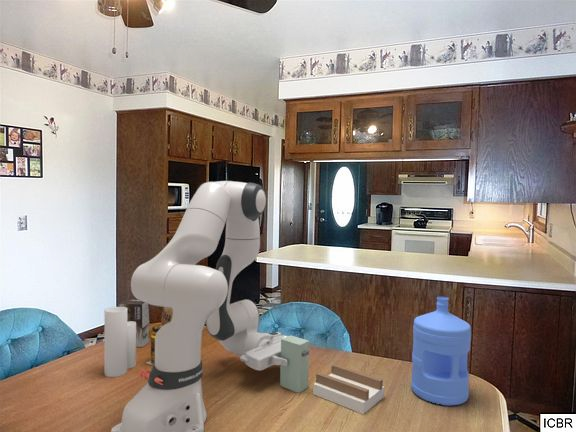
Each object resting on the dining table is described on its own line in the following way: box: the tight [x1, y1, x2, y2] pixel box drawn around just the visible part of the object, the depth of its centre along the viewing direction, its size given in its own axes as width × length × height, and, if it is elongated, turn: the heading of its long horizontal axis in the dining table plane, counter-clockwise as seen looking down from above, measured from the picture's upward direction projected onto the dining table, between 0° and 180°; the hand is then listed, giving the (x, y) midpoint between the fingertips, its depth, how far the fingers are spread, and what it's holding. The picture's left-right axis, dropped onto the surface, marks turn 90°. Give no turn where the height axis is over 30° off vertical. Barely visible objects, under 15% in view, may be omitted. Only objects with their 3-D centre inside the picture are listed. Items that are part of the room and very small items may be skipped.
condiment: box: [146, 323, 164, 366], centre depth 135 cm, size 7×8×12 cm
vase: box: [103, 306, 137, 378], centre depth 128 cm, size 11×7×20 cm, turn 174°
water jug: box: [410, 296, 472, 406], centre depth 116 cm, size 16×16×28 cm
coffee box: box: [118, 298, 151, 348], centre depth 150 cm, size 9×6×16 cm
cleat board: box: [312, 363, 385, 415], centre depth 114 cm, size 12×16×6 cm
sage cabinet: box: [279, 334, 310, 394], centre depth 118 cm, size 4×8×14 cm, turn 51°
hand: (294, 359), depth 119 cm, fingers closed on sage cabinet, 4 cm apart
